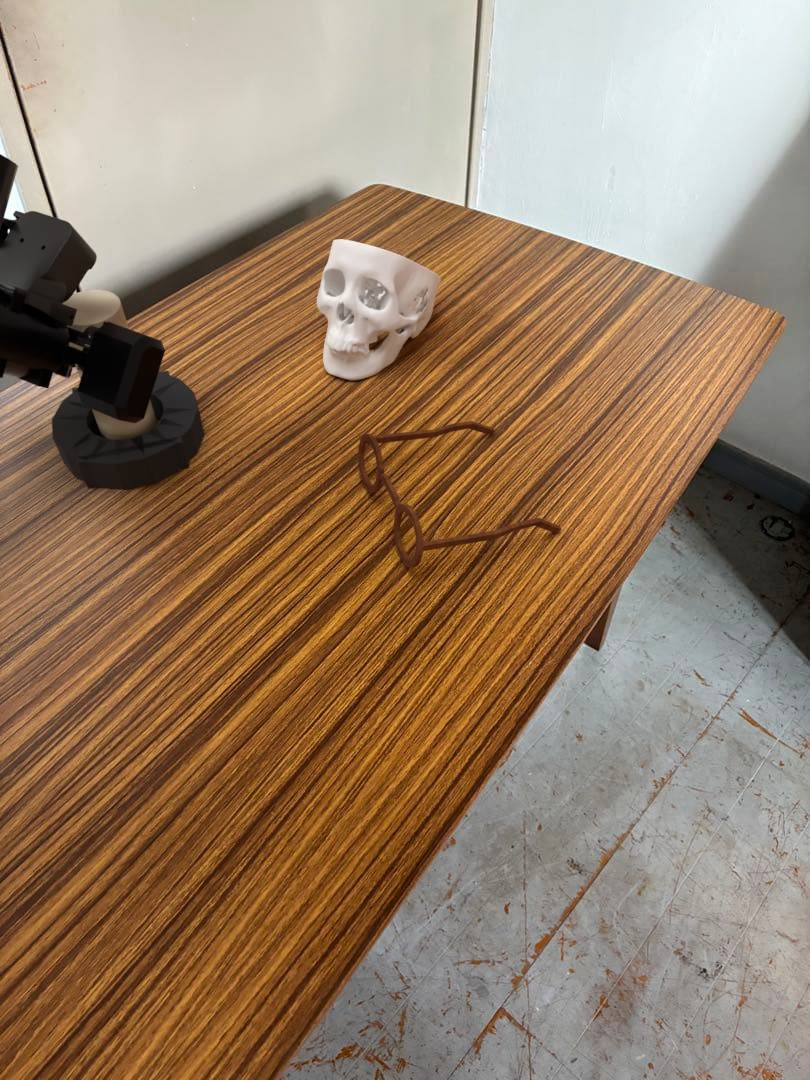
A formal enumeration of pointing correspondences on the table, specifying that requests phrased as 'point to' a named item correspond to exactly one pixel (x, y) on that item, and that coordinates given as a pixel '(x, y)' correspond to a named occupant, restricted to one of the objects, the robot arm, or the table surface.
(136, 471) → the black thick flat ring
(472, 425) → the glasses
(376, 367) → the skull bowl
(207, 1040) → the table surface
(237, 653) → the table surface
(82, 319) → the beige cylinder
